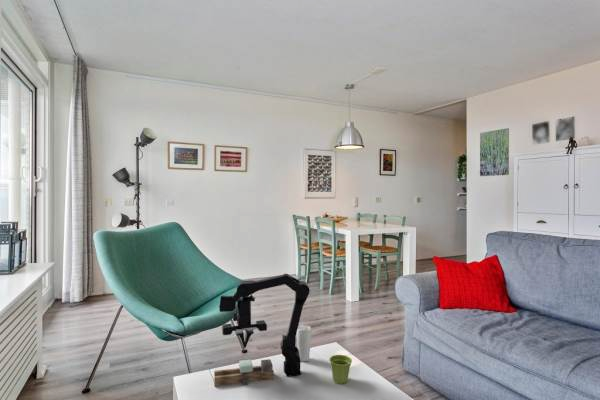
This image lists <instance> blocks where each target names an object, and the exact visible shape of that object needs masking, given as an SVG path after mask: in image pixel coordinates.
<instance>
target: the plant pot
mask: <svg viewBox="0 0 600 400" xmlns="http://www.w3.org/2000/svg"><path fill="white" fill-rule="evenodd" d="M329 362H330V365H331V366H330V367H331V373H332V375H331V376H332V380H333V382H334V383H336V384H339V383H340V384H341V385H342V384H346V383H348V382H349V375H350V374H349V373H350V369H351V368H350V367H351V366H352V365H351V364H352V363H353V359H352V358H351V357H350V356H348V355H345V354H334V355H331V356H330V358H329ZM340 384H339V385H340Z"/></svg>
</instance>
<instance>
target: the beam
mask: <svg viewBox="0 0 600 400" xmlns="http://www.w3.org/2000/svg"><path fill="white" fill-rule="evenodd" d="M273 367H274V366H273V363H272V360H271V359H270V358H269V359H261V360H260V365H256V366H253V371H251V372H249V373H240V368H239V367H235V368H227V369H219V370H218V369H216V370H214V376H213V378H214V387H222V386H231V385H238V384H241V386H246V385H249V383H256V382H263V381H274V380H275V372H274V369H273Z"/></svg>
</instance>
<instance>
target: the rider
mask: <svg viewBox="0 0 600 400" xmlns="http://www.w3.org/2000/svg"><path fill="white" fill-rule="evenodd" d="M238 363H239V364H238V365H239V367H238V368H240V373H249V372H251V371H253V367H254V366H253V365H254V364H253V362H252V359H244V360H239V361H238Z"/></svg>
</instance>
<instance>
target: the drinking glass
mask: <svg viewBox="0 0 600 400" xmlns="http://www.w3.org/2000/svg"><path fill="white" fill-rule="evenodd" d="M311 341H312V327H311V326H310V325H305V324H304V325H298V329H297V333H296V343H297V344H296V346H297V348H298V349H299V355H300V362H304V363H305V361H306V362H308V361H310V354H311V353H310V352H311Z"/></svg>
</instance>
